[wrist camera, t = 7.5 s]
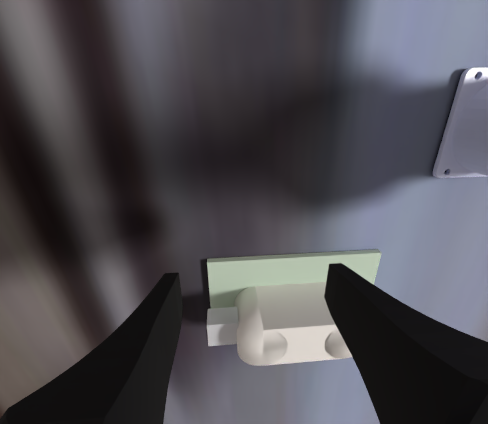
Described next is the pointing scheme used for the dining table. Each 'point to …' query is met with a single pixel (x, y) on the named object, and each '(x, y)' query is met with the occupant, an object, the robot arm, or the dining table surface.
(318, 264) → the mat
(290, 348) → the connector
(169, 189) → the dining table surface
